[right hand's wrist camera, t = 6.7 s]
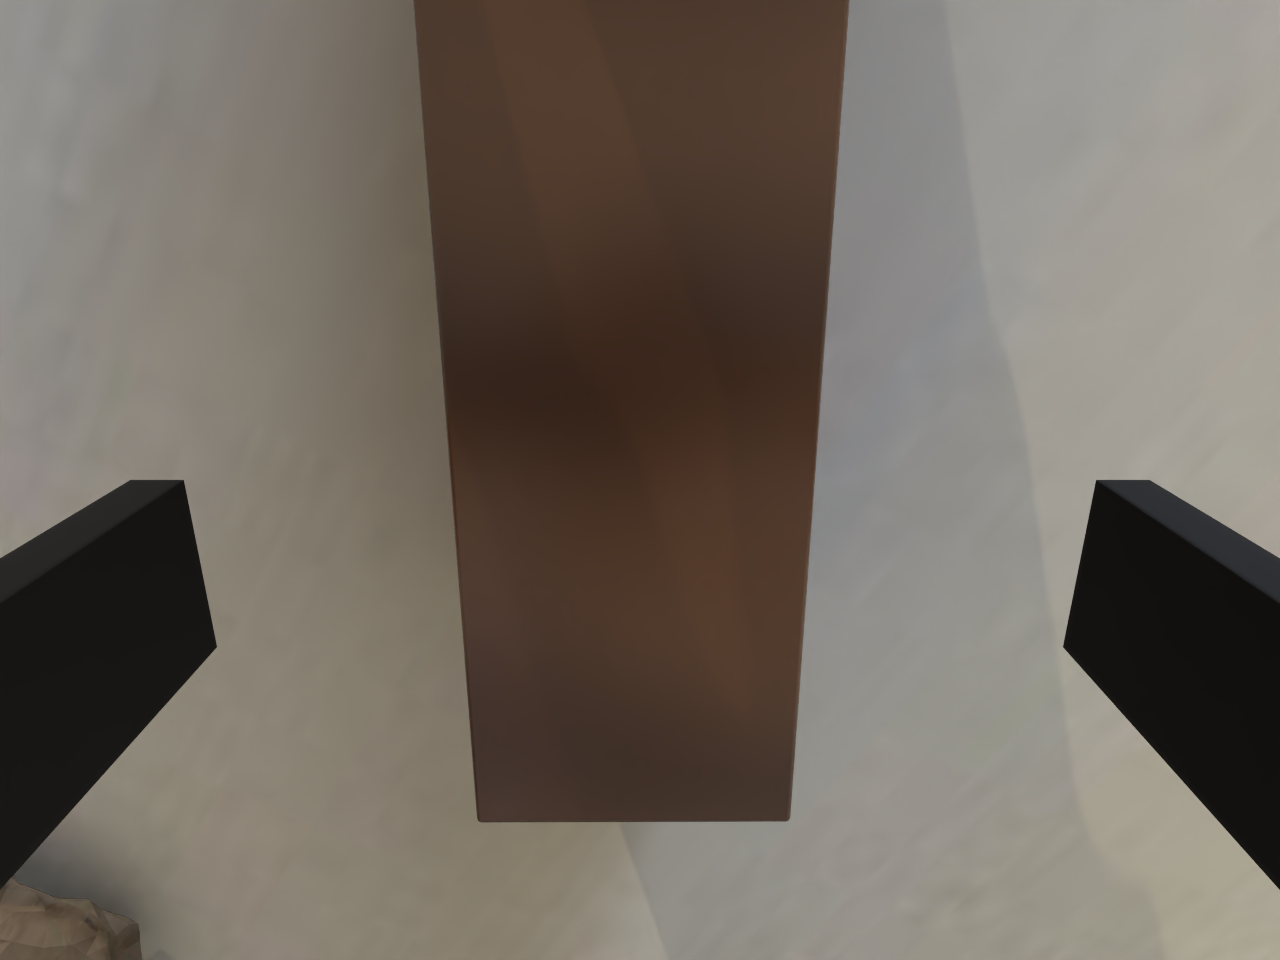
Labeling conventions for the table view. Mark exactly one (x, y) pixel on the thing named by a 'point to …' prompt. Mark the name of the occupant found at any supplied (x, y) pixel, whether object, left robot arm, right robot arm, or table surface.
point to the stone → (61, 928)
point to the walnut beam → (632, 388)
